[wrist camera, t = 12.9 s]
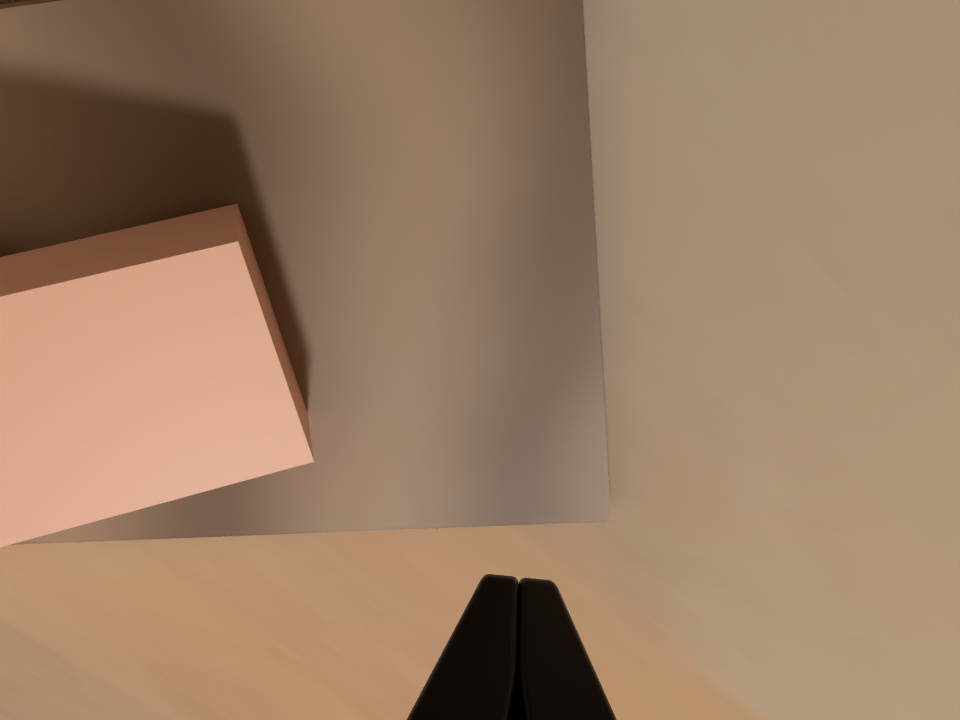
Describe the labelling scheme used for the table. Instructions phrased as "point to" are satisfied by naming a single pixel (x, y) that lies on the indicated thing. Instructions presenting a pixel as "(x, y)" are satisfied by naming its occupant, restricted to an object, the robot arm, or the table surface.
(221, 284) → the terracotta domino
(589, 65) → the table surface
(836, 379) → the table surface
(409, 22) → the walnut board
